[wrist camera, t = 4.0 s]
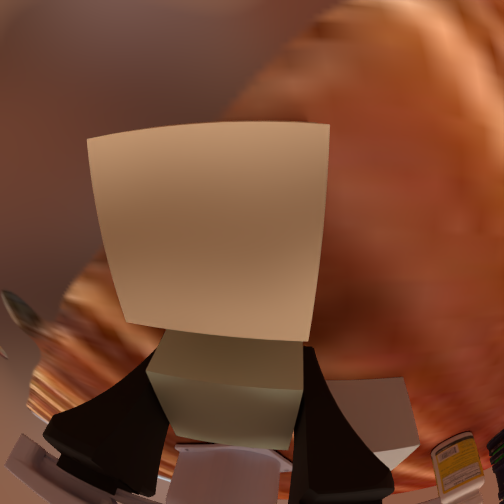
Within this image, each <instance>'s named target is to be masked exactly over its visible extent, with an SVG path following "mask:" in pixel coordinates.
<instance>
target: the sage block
mask: <svg viewBox="0 0 504 504" xmlns="http://www.w3.org/2000/svg"><path fill="white" fill-rule="evenodd" d="M146 373H147V375H148V378H149V380H150V382H151V384H152V387H153V389H154V391H155V393H156V396H157V398H158V400H159V402H160V404H161V406H162V408H163V410H164V412H165V414H166V416H167V418H168V420H169V422H170V424H171V426H172V428H173V430H174V432H175V434H176V436H181V437H185V438H190V439H195V440H200V441H206V442H212V443H218V444H225V445H232V446H240V447H249V448H260V449H275V450H288V448H289V445H290V441H291V437H292V434H293V430H294V426H295V422H296V418H297V414H298V410H299V406H300V402H301V398H302V393H303V341H283V340H267V339H253V338H240V337H229V336H219V335H210V334H201V333H193V332H185V331H178V330H171V329H166V331H165V333H164V335H163V337H162V339H161V341H160V343H159V345H158V347H157V349H156V351H155V353H154V355H153V357H152V359H151V361H150V363H149V365H148V367H147V369H146Z"/></svg>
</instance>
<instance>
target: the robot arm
mask: <svg viewBox="0 0 504 504" xmlns="http://www.w3.org/2000/svg"><path fill="white" fill-rule="evenodd" d="M156 349H157V348H156ZM156 349H155V350H154V351H153V352H152V353H151V354H150V355H149V356H148V357H147V358H146V359H145V360H144V361H143V362H142V363H141V364H140V365H139V366H137V367H136V368H135V369H134V370H133V371H132V372H130V373H129V374H128V375H127V376H126V377H125V378H123V379H122V380H121V381H119V382H118V383H117V384H115V385H114V386H113V387H111V388H110V389H108V390H107V391H105V392H103V393H102V394H100V395H98V396H97V397H95V398H93V399H91V400H90V401H88V402H85V403H83V404H81V405H79V406H77V407H75V408H72V409H70V410H67V411H64V412H61V413H58V414H55V415H53V417H52V418H51V420H50V422H49V424H48V425H47V427H46V429H45V431H44V432H43V437H44V438H45V440H46V441H48V443H50V444H51V445H52V446H53V447H54V448H56V449H57V450H58V451H59V452H60V453H61V456H60V458H59V459H58V458H56V457H54V456H53V455H51V454H49V453H48V452H46V451H45V449H43V448H42V447H41V446H40V445H38V444H37V443H36V442H34V441H33V440H31V439H30V438H28V437H27V436H26V435H24V434H21V435H20V437H19V439H18V441H17V443H16V444H15V446H14V448H13V450H12V452H11V454H10V456H9V457H8V459H7V461H6V463H5V467H6V468H7V469H8V470H9V471H10V472H11V473H12V474H14V475H15V476H16V477H17V478H18V479H20V480H21V481H22V482H23V483H24V484H25V485H27V486H28V487H29V488H30V489H32V490H33V491H34V492H35V493H36V494H38V495H39V496H40V497H42V498H43V499H44V500H46V501H47V502H48V503H50V504H117V502H116V501H118V502H120V503H122V504H162V503H158V502H155V501H152V500H149V499H146V498H143V497H140V496H137V495H134V494H132V493H135V494H138V495H139V494H140V495H143V496H146V497H151V496H153V495H155V492H156V484H157V477H158V471H159V465H160V460H161V455H162V450H163V446H164V442H165V438H166V434H167V430H168V427H169V424H170V422H169V420H168V418H167V416H166V414H165V412H164V410H163V408H162V406H161V404H160V402H159V400H158V398H157V396H156V393H155V391H154V389H153V387H152V384H151V382H150V380H149V378H148V375H147V373H146V369H147V367H148V365H149V363H150V361H151V359H152V357H153V355H154V353H155V351H156ZM175 449H176V450H178V451H179V452H180V453H179V457H178V460H177V463H176V466H175V470H174V473H173V476H172V480H171V483H170V486H169V490H168V493H167V497H166V504H277V498H278V488H279V478H280V472H288V471H292V475H291V484H290V493H289V500H288V504H382V499H383V498H385V497H387V496H388V495H390V494H391V493H393V492H394V481H393V477H392V474H391V471H390V469H389V468H388V467H387V466H386V465H385V464H384V463H383V462H382V461H381V460H380V459H379V458H378V457H377V456H376V455H375V454H374V453H373V452H372V451H371V450H370V449H369V448H368V447H367V446H366V444H365V443H364V442H363V441H362V439H361V438H360V437H359V436H358V435H357V433H356V432H355V431H354V429H353V428H352V427H351V425H350V424H349V422H348V421H347V419H346V418H345V416H344V415H343V413H342V412H341V410H340V408H339V407H338V405H337V403H336V401H335V399H334V397H333V396H332V394H331V392H330V390H329V387H328V385H327V383H326V381H325V379H324V376H323V374H322V372H321V369H320V366H319V364H318V361H317V358H316V354H315V351H314V348H313V347H308V346H303V393H302V398H301V402H300V406H299V410H298V414H297V418H296V422H295V426H294V452H293V464H292V463H291V462H289V461H288V460H286V459H285V458H284V457H282V456H281V455H279V454H278V453H277V452H275V451H274V450H273V449H260V448H249V447H240V446H232V445H225V444H197V445H175ZM418 504H441V498H440V497H438V498H435V499H432V500H428V501H425V502H422V503H418Z"/></svg>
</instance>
